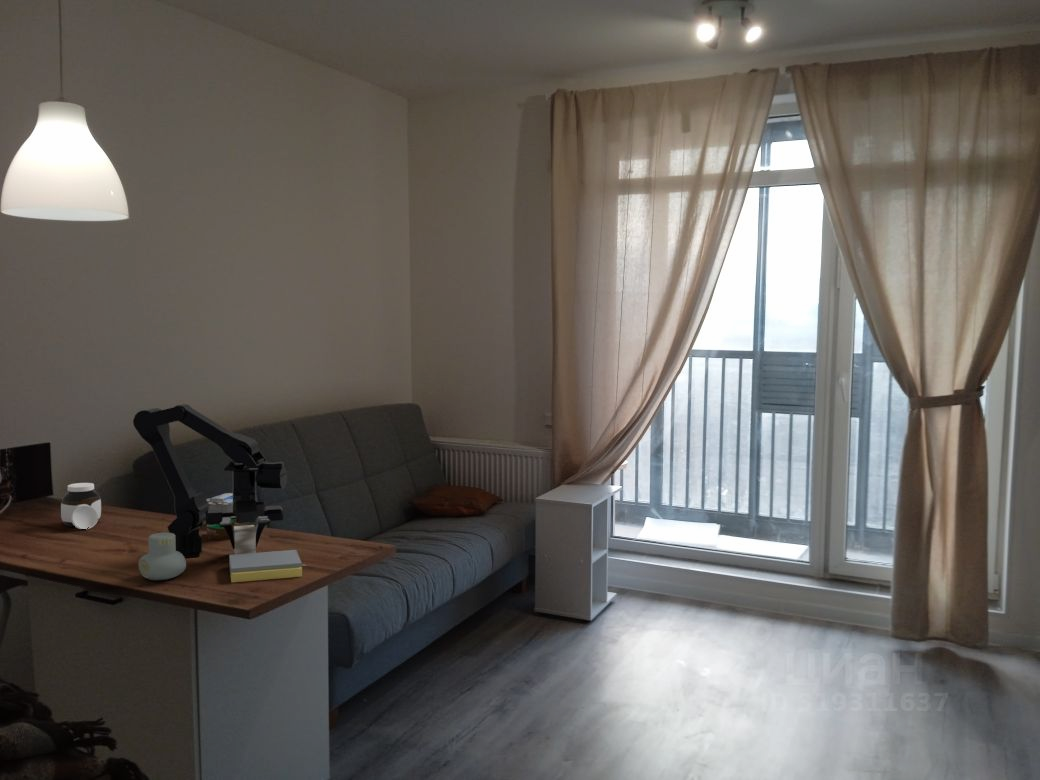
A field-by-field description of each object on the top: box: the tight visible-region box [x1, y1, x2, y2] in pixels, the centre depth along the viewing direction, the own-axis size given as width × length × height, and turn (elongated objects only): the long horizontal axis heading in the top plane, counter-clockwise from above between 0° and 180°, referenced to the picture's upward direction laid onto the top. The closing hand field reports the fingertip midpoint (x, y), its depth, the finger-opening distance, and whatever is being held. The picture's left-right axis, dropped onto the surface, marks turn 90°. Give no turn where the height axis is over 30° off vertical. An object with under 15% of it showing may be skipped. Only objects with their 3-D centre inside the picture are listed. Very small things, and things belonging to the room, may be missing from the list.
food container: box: [205, 498, 241, 541], centre depth 232 cm, size 12×6×10 cm, turn 68°
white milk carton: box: [233, 524, 257, 554], centre depth 215 cm, size 5×8×6 cm, turn 21°
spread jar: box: [60, 482, 102, 530], centre depth 242 cm, size 12×11×12 cm
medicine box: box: [210, 492, 233, 504], centre depth 247 cm, size 8×4×9 cm, turn 168°
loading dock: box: [228, 549, 303, 583], centre depth 203 cm, size 16×13×3 cm
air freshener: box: [138, 532, 187, 581], centre depth 197 cm, size 11×8×10 cm
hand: (244, 547), depth 215 cm, fingers closed on white milk carton, 5 cm apart
